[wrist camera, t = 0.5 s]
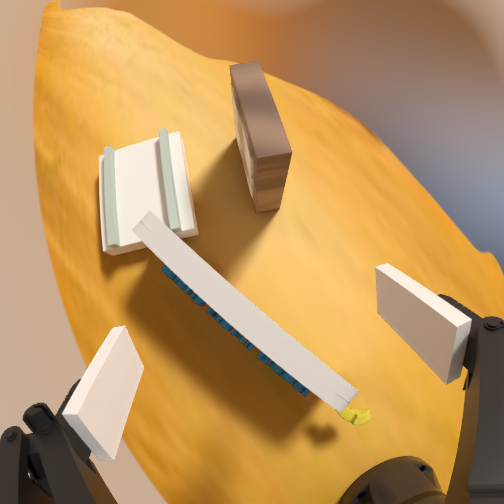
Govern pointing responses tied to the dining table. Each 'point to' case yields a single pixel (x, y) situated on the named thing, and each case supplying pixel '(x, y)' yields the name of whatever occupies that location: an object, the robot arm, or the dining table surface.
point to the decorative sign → (247, 320)
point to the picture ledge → (144, 191)
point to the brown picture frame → (259, 136)
